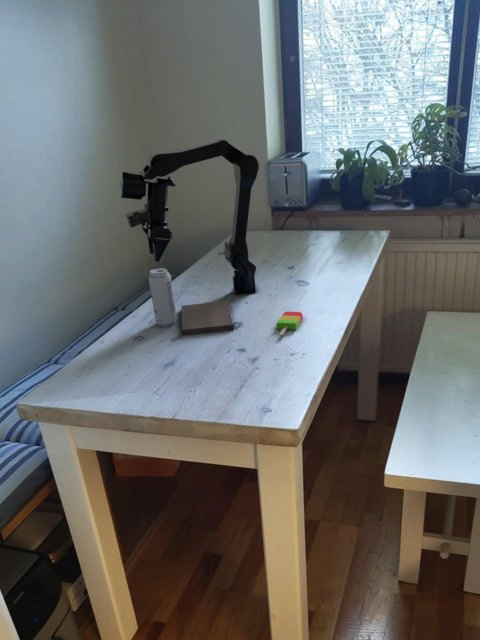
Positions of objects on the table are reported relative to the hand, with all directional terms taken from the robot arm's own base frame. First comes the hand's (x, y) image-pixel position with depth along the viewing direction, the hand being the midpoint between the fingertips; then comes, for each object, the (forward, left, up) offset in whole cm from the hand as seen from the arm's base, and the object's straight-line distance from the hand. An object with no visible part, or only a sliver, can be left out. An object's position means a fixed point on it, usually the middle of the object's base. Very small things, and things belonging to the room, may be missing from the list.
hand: (154, 257), depth 179 cm
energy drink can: (-2, +17, -15) cm, 22 cm away
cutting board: (-13, +17, -14) cm, 26 cm away
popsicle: (-35, +30, -15) cm, 48 cm away
